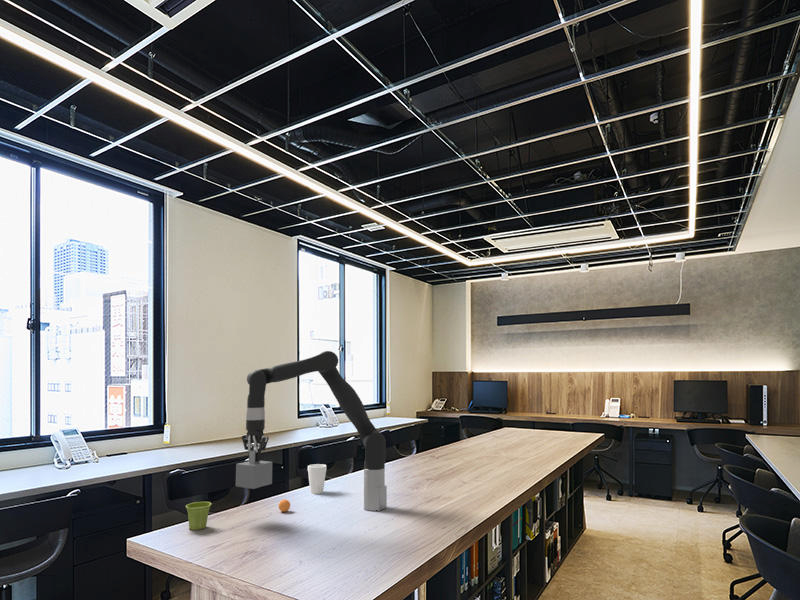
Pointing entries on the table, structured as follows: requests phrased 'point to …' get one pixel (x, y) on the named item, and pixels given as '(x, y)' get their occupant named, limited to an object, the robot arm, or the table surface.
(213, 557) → the table surface
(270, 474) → the grey block with knob
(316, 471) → the foam cup
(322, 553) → the table surface
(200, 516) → the plant pot
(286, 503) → the ball
